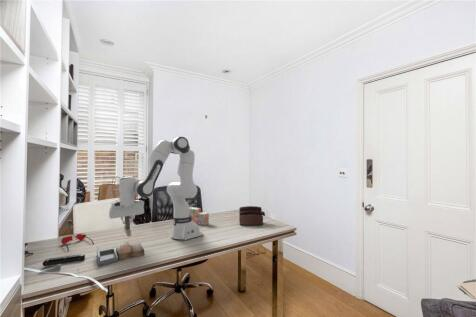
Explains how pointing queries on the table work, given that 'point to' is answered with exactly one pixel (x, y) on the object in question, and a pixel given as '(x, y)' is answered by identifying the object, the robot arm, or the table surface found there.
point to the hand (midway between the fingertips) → (127, 223)
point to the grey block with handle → (127, 226)
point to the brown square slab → (135, 251)
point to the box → (106, 256)
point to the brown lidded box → (250, 215)
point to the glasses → (67, 239)
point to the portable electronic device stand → (63, 260)
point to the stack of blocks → (199, 216)
